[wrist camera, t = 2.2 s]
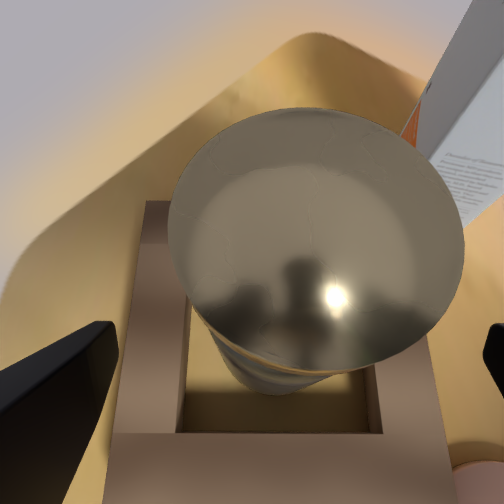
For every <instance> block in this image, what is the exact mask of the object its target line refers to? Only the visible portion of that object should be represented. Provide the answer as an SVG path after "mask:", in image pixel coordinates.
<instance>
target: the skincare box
mask: <svg viewBox="0 0 504 504" xmlns="http://www.w3.org/2000/svg"><path fill="white" fill-rule="evenodd" d="M399 136H400V137H401V138H403V139H404V140H406V141H407V142H409V143H410V144H411V145H412V146H413V147H414V148H416V149H417V150H418V151H419V152H420V153H421V154H422V155H423V156H424V157H425V158H426V159H427V160H428V161H429V162H430V163H431V164H432V165H433V167H434V168H435V169H436V171H437V172H438V173H439V174H440V176H441V177H442V178H443V180H444V182H445V184H446V185H447V187H448V189H449V190H450V192H451V194H452V196H453V199H454V201H455V203H456V206H457V208H458V211H459V215H460V219H461V222H462V226H463V228H465V227H466V226H467V225H468V224H469V223H470V222H472V221H473V220H474V219H475V218H476V217H477V216H479V215H480V214H481V213H482V212H483V211H484V210H485V209H487V208H488V207H489V206H490V205H491V204H492V203H494V202H495V201H496V200H497V199H498V198H499V197H501V196H502V195H503V194H504V0H473V1H472V3H471V4H470V6H469V8H468V10H467V12H466V14H465V15H464V17H463V19H462V21H461V23H460V25H459V27H458V28H457V30H456V32H455V34H454V36H453V38H452V39H451V41H450V43H449V45H448V47H447V49H446V50H445V52H444V54H443V56H442V58H441V60H440V61H439V63H438V65H437V67H436V69H435V71H434V73H433V75H432V77H431V78H430V80H429V82H428V84H427V86H426V87H425V89H424V91H423V93H422V95H421V97H420V99H419V101H418V102H417V104H416V106H415V108H414V110H413V111H412V113H411V115H410V117H409V119H408V121H407V122H406V124H405V126H404V128H403V130H402V132H401V133H400V135H399Z"/></svg>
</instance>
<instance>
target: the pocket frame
mask: <svg viewBox="0 0 504 504" xmlns="http://www.w3.org/2000/svg"><path fill="white" fill-rule="evenodd" d="M170 204H171V201H146V206H145V213H144V220H143V227H142V234H141V240H140V247H139V254H138V261H137V268H136V275H135V282H134V288H133V295H132V302H131V309H130V316H129V323H128V329H127V336H126V343H125V350H124V357H123V364H122V371H121V377H120V384H119V391H118V398H117V405H116V412H115V419H114V425H113V432H112V439H111V446H110V453H109V460H108V466H107V473H106V480H105V487H104V494H103V501H102V504H458V499H457V493H456V488H455V483H454V478H453V473H452V467H451V462H450V457H449V452H448V446H447V441H446V436H445V431H444V425H443V420H442V415H441V410H440V404H439V399H438V394H437V389H436V384H435V378H434V373H433V368H432V363H431V357H430V352H429V347H428V342H427V336H426V335H424V336H423V337H422V338H421V339H420V340H419V341H417V342H416V343H414V344H413V345H411V346H410V347H408V348H407V349H405V350H404V351H402V352H400V353H398V354H396V355H394V356H392V357H389V358H387V359H385V360H383V361H380V362H378V363H375V364H373V365H370V366H367V367H365V368H362V369H363V378H364V387H365V396H366V404H367V413H368V422H369V430H370V432H266V431H182V429H183V415H184V402H185V389H186V376H187V362H188V349H189V336H190V322H191V309H192V304H191V302H190V300H189V298H188V296H187V294H186V292H185V290H184V289H183V287H182V285H181V283H180V281H179V279H178V277H177V274H176V271H175V268H174V265H173V262H172V259H171V254H170V249H169V244H168V216H169V208H170Z"/></svg>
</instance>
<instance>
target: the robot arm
mask: <svg viewBox="0 0 504 504" xmlns="http://www.w3.org/2000/svg"><path fill="white" fill-rule="evenodd" d="M118 357H119V348H118V341H117V335H116V328H115V325H114V323H113V322H112V321H94V322H92V323H90V324H88V325H87V326H85V327H83V328H81V329H79V330H77V331H75V332H73V333H71V334H70V335H68V336H66V337H64V338H62V339H60V340H58V341H56V342H54V343H52V344H51V345H49V346H47V347H45V348H43V349H41V350H39V351H37V352H35V353H34V354H32V355H30V356H28V357H26V358H24V359H22V360H20V361H18V362H17V363H15V364H13V365H11V366H9V367H7V368H5V369H3V370H1V371H0V504H62V502H63V500H64V498H65V496H66V493H67V491H68V489H69V487H70V484H71V482H72V480H73V478H74V475H75V473H76V471H77V469H78V466H79V464H80V462H81V459H82V457H83V455H84V453H85V450H86V448H87V446H88V444H89V441H90V439H91V437H92V435H93V432H94V430H95V428H96V425H97V423H98V420H99V418H100V415H101V412H102V409H103V406H104V403H105V400H106V396H107V393H108V390H109V387H110V384H111V381H112V377H113V374H114V371H115V368H116V365H117V362H118ZM483 360H484V363H485V365H486V367H487V368H488V370H489V372H490V374H491V376H492V378H493V379H494V381H495V383H496V385H497V387H498V389H499V390H500V392H501V394H502V396H503V398H504V323H495V324H493V325H492V326H491V327H490V329H489V332H488V336H487V339H486V343H485V346H484V349H483Z"/></svg>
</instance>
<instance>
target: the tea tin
mask: <svg viewBox="0 0 504 504" xmlns="http://www.w3.org/2000/svg"><path fill="white" fill-rule="evenodd" d="M168 244H169V249H170V254H171V259H172V262H173V265H174V268H175V271H176V274H177V277H178V279H179V281H180V283H181V285H182V287H183V289H184V290H185V292H186V294H187V296H188V298H189V300H190V302H191V304H192V306H193V308H194V309H195V311H196V312H197V314H198V315H199V317H200V318H201V319H202V321H203V322H204V324H205V325H206V326H207V327H208V328H209V330H210V332H211V335H212V337H213V339H214V341H215V343H216V345H217V347H218V349H219V351H220V353H221V355H222V357H223V360H224V362H225V364H226V365H227V367H228V369H229V370H230V372H231V373H232V375H233V376H234V377H235V378H236V379H237V380H238V381H239V382H240V383H242V384H243V385H244V386H246V387H247V388H249V389H251V390H253V391H255V392H258V393H261V394H265V395H286V394H290V393H293V392H296V391H298V390H300V389H303V388H305V387H307V386H310V385H312V384H314V383H316V382H319V381H321V380H323V379H325V378H328V377H330V376H332V375H336V374H343V373H348V372H351V371H355V370H358V369H362V368H365V367H367V366H370V365H373V364H375V363H378V362H380V361H383V360H385V359H387V358H389V357H392V356H394V355H396V354H398V353H400V352H402V351H404V350H405V349H407V348H408V347H410V346H411V345H413V344H414V343H416V342H417V341H419V340H420V339H421V338H422V337H423V336H424V335H426V334H427V333H428V332H429V331H430V330H431V329H432V328H433V327H434V326H435V325H436V323H437V322H438V321H439V320H440V318H441V317H442V316H443V315H444V313H445V312H446V310H447V309H448V307H449V305H450V303H451V301H452V300H453V298H454V296H455V293H456V291H457V288H458V285H459V282H460V279H461V275H462V270H463V264H464V247H465V243H464V234H463V226H462V222H461V219H460V215H459V211H458V208H457V206H456V203H455V201H454V199H453V196H452V194H451V192H450V190H449V189H448V187H447V185H446V184H445V182H444V180H443V178H442V177H441V176H440V174H439V173H438V172H437V171H436V169H435V168H434V167H433V165H432V164H431V163H430V162H429V161H428V160H427V159H426V158H425V157H424V156H423V155H422V154H421V153H420V152H419V151H418V150H417V149H416V148H414V147H413V146H412V145H411V144H410V143H409V142H407V141H406V140H404V139H403V138H401V137H400V136H398V135H397V134H395V133H394V132H392V131H390V130H389V129H387V128H385V127H383V126H381V125H379V124H377V123H375V122H372V121H370V120H368V119H365V118H363V117H359V116H356V115H353V114H350V113H346V112H341V111H336V110H331V109H322V108H287V109H279V110H274V111H269V112H265V113H261V114H258V115H255V116H252V117H249V118H247V119H244V120H242V121H240V122H237V123H235V124H233V125H232V126H230V127H228V128H226V129H225V130H223V131H221V132H220V133H219V134H217V135H216V136H215V137H213V138H212V139H211V140H209V141H208V142H207V143H206V144H205V145H204V146H203V147H202V148H201V149H200V150H199V151H198V152H197V153H196V154H195V156H194V157H193V158H192V159H191V161H190V162H189V163H188V165H187V166H186V168H185V170H184V171H183V173H182V175H181V176H180V178H179V180H178V183H177V185H176V188H175V190H174V192H173V196H172V200H171V204H170V208H169V216H168Z"/></svg>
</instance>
